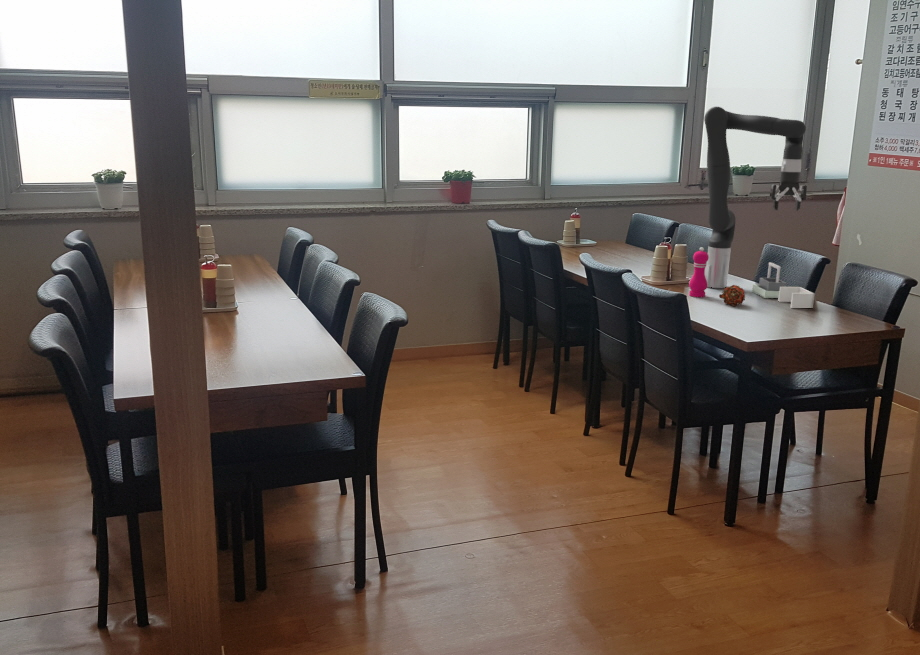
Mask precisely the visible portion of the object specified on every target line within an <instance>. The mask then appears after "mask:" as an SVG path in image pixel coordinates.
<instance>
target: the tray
mask: <svg viewBox="0 0 920 655" xmlns="http://www.w3.org/2000/svg"><path fill="white" fill-rule="evenodd" d="M752 291H753V293H754V294H756V295H757V294H758V296H759V295H760V296H759V297H761V298H762V299H764V298H778V299H779V291H766V290H764V289H762V288H760V287H759V284H752V289H751V292H752ZM778 299H777V300H778Z"/></svg>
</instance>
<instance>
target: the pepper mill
mask: <svg viewBox="0 0 920 655" xmlns="http://www.w3.org/2000/svg"><path fill="white" fill-rule="evenodd" d="M704 250H705V248H704V247H702V246H701V247H699V249H698V251H695V252H694V254H693V257H692V259H693V261H694V262H693V267H694V271H693V275H692V276H691V278H690V280H689V283H688V287H689V289H690V290H689V292H688V293H689V296H690V297H693V298H705V297H706V291H705V290H707V288H708V287H707V280H706V278H705V267H706V265H707V264H706V263H707V261H708V259H709V256H708V252H706V251H704Z"/></svg>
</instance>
